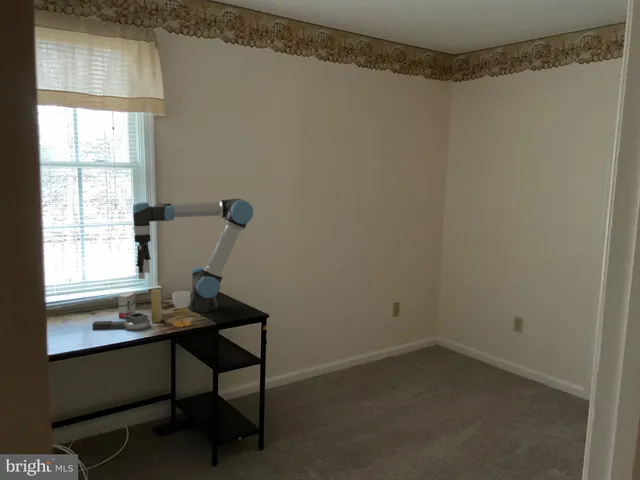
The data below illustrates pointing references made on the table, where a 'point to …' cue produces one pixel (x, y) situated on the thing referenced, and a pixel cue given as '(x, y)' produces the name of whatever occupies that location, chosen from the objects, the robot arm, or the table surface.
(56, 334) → the table surface
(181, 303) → the cup
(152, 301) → the gold square rod
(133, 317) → the ratchet
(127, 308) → the ink box
